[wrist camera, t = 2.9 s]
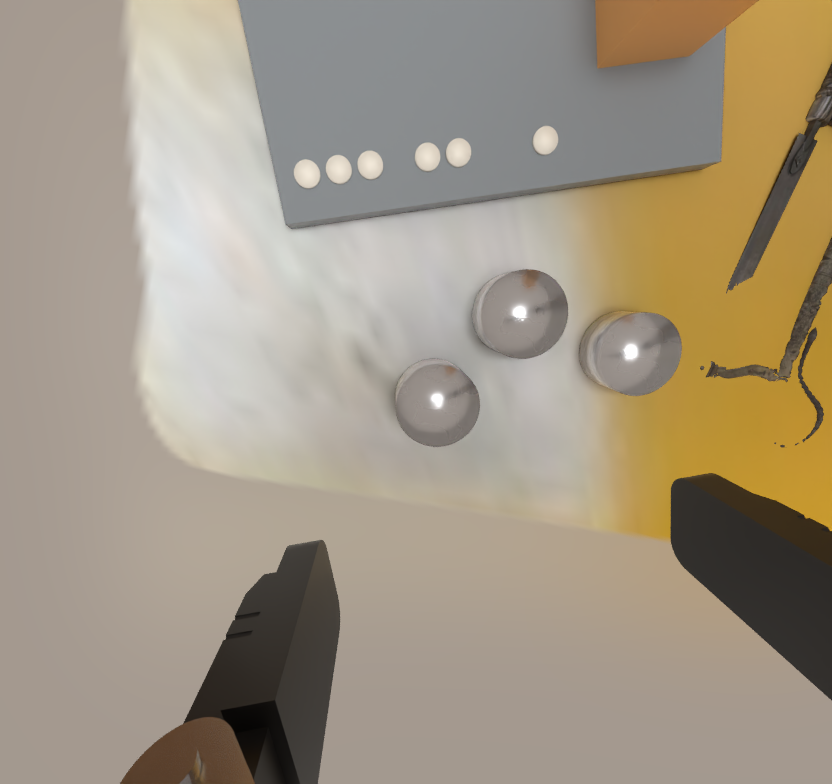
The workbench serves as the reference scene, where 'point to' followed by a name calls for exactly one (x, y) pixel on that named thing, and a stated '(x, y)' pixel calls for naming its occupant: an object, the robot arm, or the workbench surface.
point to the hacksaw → (823, 111)
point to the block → (659, 28)
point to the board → (464, 104)
